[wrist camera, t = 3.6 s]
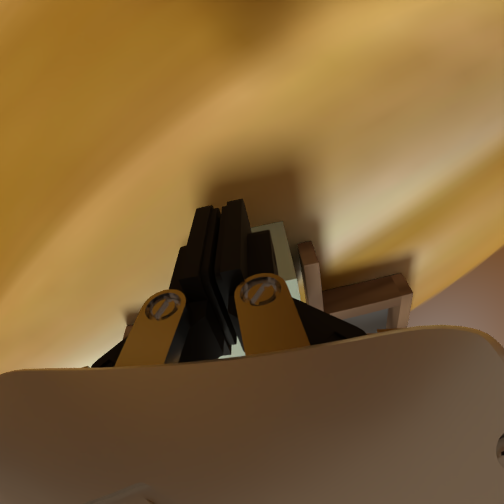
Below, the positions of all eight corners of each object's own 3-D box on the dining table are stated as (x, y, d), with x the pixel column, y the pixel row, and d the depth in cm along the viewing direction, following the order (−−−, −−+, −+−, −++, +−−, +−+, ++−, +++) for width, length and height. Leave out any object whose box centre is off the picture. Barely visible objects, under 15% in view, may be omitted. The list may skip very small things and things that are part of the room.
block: (196, 239, 22) (186, 299, 17) (282, 220, 22) (296, 278, 17) (220, 301, 25) (217, 362, 21) (294, 286, 25) (308, 347, 20)
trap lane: (100, 284, 24) (80, 330, 20) (405, 221, 22) (436, 262, 18) (194, 415, 37) (193, 449, 33) (383, 382, 35) (394, 416, 31)
